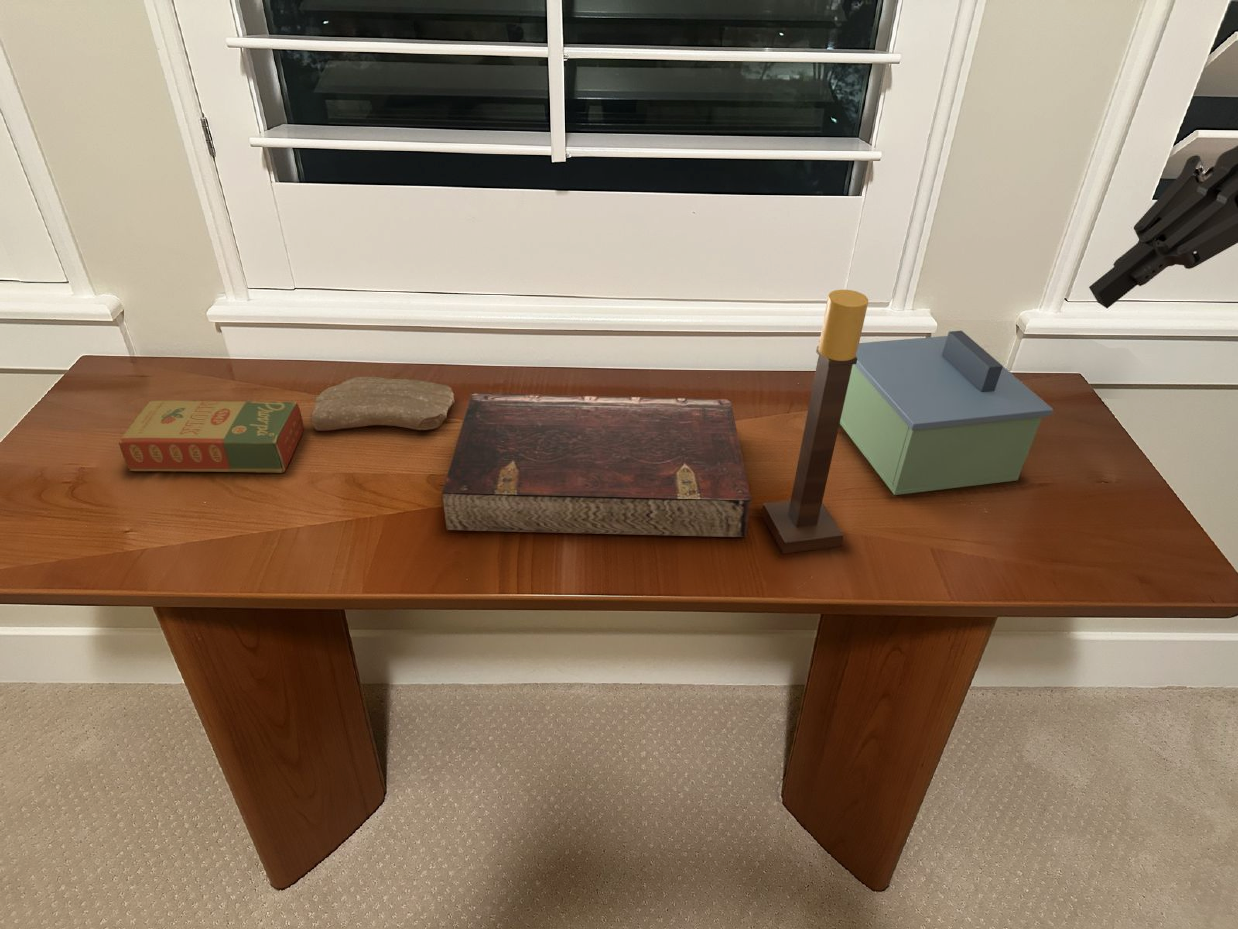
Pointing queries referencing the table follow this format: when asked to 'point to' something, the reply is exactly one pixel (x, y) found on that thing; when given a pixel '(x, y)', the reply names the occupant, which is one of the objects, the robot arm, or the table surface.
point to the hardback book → (598, 466)
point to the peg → (842, 325)
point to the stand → (813, 467)
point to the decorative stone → (382, 404)
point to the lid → (946, 382)
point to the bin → (932, 445)
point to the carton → (213, 436)
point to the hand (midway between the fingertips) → (1098, 297)
